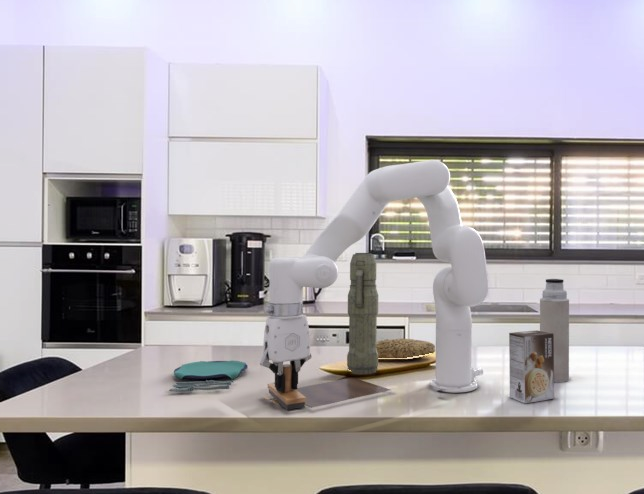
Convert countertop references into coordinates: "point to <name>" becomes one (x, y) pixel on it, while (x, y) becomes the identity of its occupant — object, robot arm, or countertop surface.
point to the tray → (338, 391)
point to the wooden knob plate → (287, 391)
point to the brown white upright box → (531, 366)
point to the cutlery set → (207, 374)
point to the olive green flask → (362, 315)
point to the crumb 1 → (268, 397)
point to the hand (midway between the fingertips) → (286, 389)
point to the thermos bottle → (556, 325)
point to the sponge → (403, 348)
